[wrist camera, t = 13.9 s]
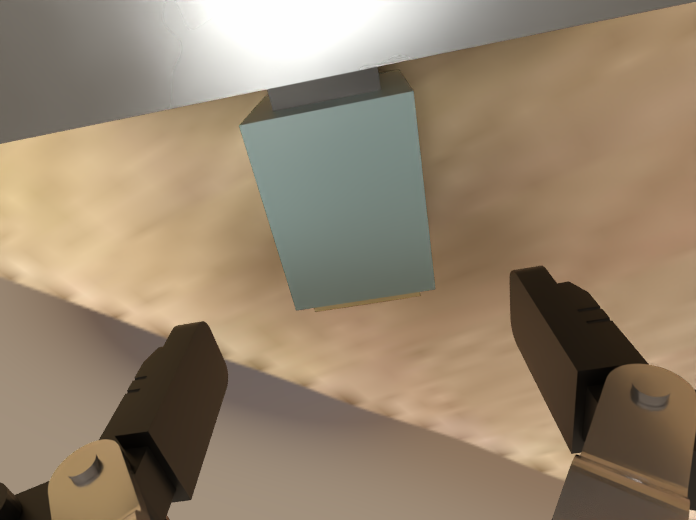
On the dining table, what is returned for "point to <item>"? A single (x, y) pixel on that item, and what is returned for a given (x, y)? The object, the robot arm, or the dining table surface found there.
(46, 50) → the bridge block
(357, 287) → the plug
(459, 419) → the dining table surface
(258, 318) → the dining table surface
